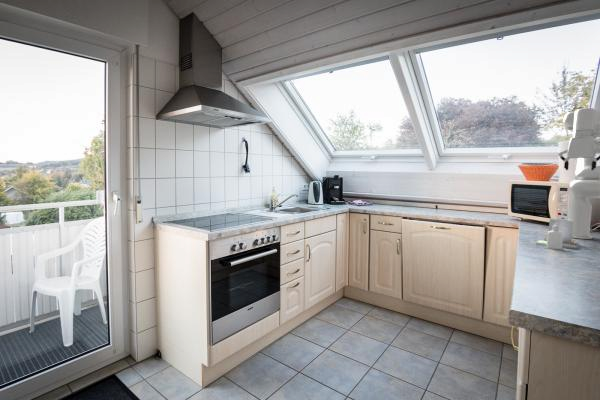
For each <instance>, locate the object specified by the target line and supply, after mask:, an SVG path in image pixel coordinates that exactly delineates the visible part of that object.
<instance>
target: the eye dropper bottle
mask: <svg viewBox="0 0 600 400" xmlns="http://www.w3.org/2000/svg"><path fill="white" fill-rule="evenodd" d="M562 242H563V233H562V232H560V231H559V226H558V225H557V223H555V225H554V226H553V229H552V231H549V230H548V232H547V246H546V248H547V249H553V250H562Z"/></svg>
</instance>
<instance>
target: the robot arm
mask: <svg viewBox="0 0 600 400" xmlns="http://www.w3.org/2000/svg"><path fill="white" fill-rule="evenodd" d="M563 125H564V127H565V129H567V130H569V131H572V137H571V138H570V139H569V142H568V147H567V149H566V150H563V151H561V152H559V153H558V156H559V158H560V159H561V160H562V161H563V162H564V163H563V164H564V165H563V168H564V169H565V170H566V171H568V170H569V165H570V164H569V163H570V162H569V161H570V160H571V159H575V162H576V165H575V171H574V180H572V181H570V182H569V185H568V195H569V197H568V199H569V202H568V215H567V220H574V222H573V233H572V239H579V240H580V239H582V240H592V239H593V238H594V236H593V235H590V232H591V231H590V230H591V222H592V221H591V220H592V210H593V205H592V204H591V202H590V201H589V200H588V199H587V198H590V199H591V198H593V199H600V165H597V162H598V161H600V111H599V110H598V109H594V108H592V107H585V108H583V107H582V108H579V109H576V110H575V111H569V112H566V113H565V114H564V117H563ZM565 154H567V155H566V156H567V157H564V155H565ZM596 154H599V155H598V157H595V156H596Z"/></svg>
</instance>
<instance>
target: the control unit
mask: <svg viewBox="0 0 600 400" xmlns="http://www.w3.org/2000/svg"><path fill="white" fill-rule="evenodd" d="M548 222H549V224H548V232H549V231H552V229H553V226H554V225H555V223H557V225H558V226H559V231H560V232H562V233H563V242H562V243H565V244H573V245H577V244H576V243H577V240H573V238H572V233H573V222H574V220H568V219H561V218H552V217H551V218H550V219H549V221H548ZM543 241H547V237H545V238H544V239H543Z"/></svg>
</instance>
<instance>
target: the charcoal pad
mask: <svg viewBox="0 0 600 400" xmlns="http://www.w3.org/2000/svg"><path fill="white" fill-rule="evenodd" d="M562 248H563V249H569V250H577V249H578V244H575V245H573V244H565V243H562Z"/></svg>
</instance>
